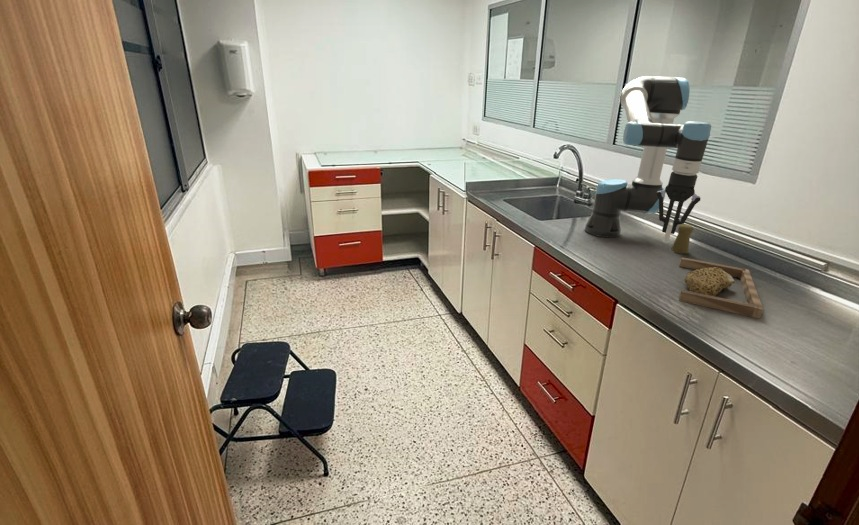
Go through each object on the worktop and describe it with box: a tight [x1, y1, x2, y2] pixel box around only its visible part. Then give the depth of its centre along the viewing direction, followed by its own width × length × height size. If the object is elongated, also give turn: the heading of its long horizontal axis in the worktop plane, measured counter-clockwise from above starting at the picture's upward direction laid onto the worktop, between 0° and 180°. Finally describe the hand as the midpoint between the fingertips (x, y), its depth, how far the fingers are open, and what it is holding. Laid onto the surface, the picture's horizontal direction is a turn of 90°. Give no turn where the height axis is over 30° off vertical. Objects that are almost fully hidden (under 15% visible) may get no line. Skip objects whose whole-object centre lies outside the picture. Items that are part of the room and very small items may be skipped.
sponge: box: [684, 267, 735, 297], centre depth 142 cm, size 13×8×20 cm
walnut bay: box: [678, 257, 764, 319], centre depth 145 cm, size 34×21×3 cm, turn 152°
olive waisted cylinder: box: [671, 223, 694, 254], centre depth 176 cm, size 6×6×11 cm
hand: (665, 241), depth 149 cm, fingers closed
